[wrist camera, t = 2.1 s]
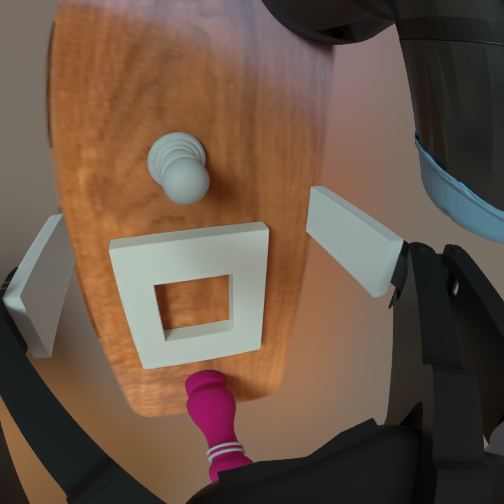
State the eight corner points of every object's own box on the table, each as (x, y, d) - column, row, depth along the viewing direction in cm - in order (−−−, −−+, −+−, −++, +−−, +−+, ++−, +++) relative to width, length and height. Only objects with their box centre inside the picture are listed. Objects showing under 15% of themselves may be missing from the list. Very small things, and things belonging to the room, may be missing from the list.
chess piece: (184, 120, 24) (198, 131, 17) (215, 164, 27) (242, 195, 20) (136, 155, 24) (128, 183, 17) (170, 198, 27) (178, 241, 20)
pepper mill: (181, 370, 40) (215, 498, 24) (229, 365, 42) (276, 484, 26) (182, 396, 43) (212, 508, 27) (224, 391, 46) (264, 497, 29)
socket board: (110, 239, 27) (108, 249, 26) (262, 221, 32) (269, 229, 30) (143, 358, 37) (144, 369, 35) (255, 338, 41) (260, 348, 39)
